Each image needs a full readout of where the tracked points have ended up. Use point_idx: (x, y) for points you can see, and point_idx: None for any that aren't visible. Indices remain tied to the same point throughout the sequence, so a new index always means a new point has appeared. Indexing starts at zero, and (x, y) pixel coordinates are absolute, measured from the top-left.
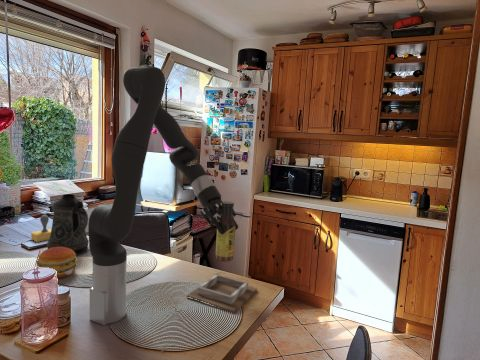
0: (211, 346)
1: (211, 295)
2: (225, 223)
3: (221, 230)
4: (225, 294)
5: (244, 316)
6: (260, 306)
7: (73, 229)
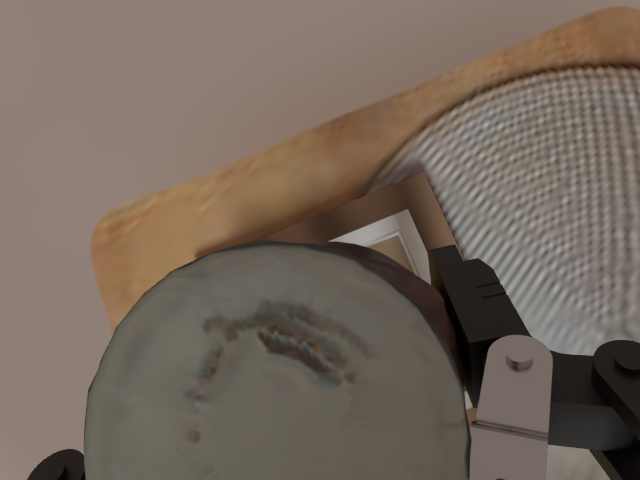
0: (633, 55)
1: None
2: (422, 285)
3: (489, 274)
4: (413, 248)
5: (401, 135)
6: (288, 155)
7: None
